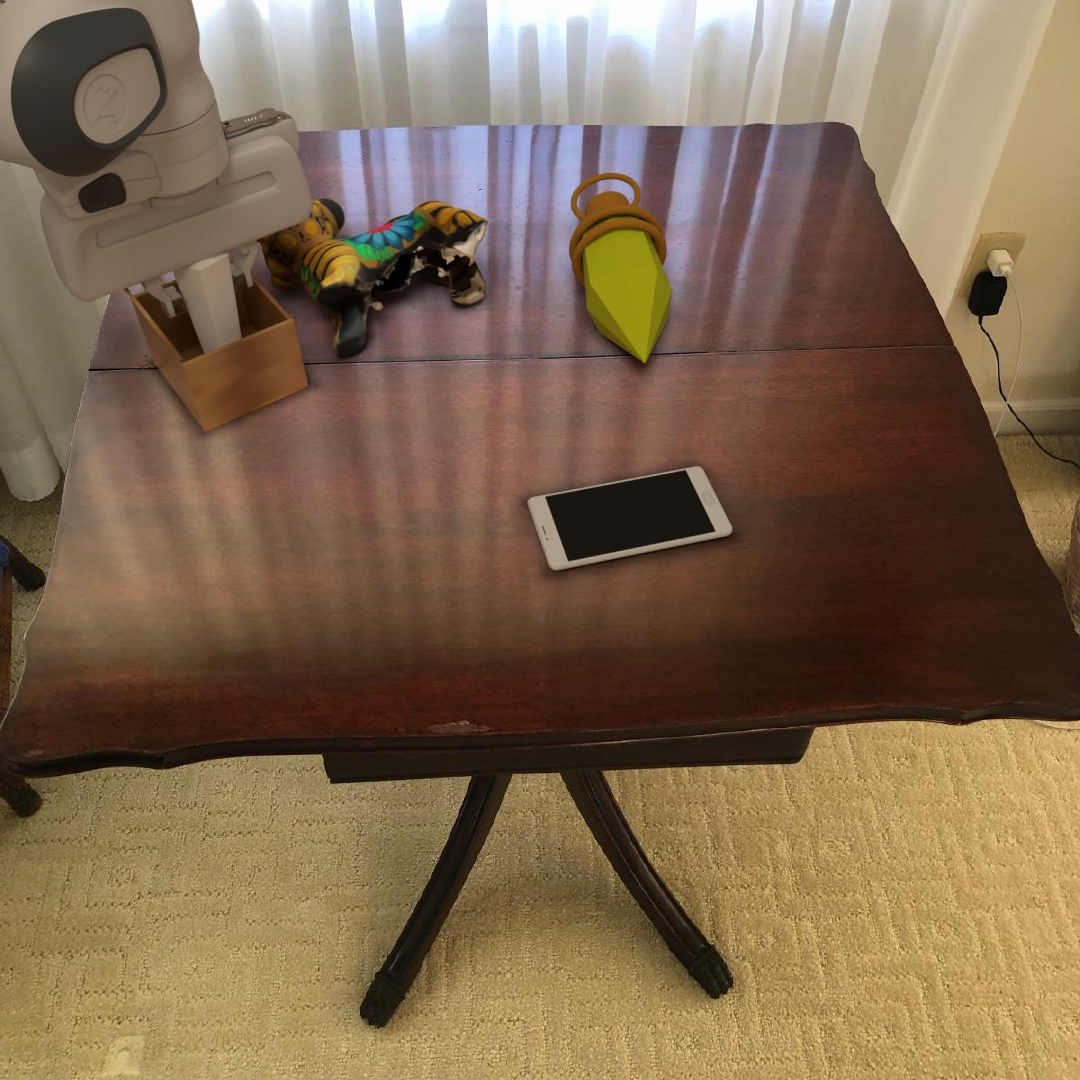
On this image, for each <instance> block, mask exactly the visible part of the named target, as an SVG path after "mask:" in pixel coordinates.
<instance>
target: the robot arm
mask: <svg viewBox="0 0 1080 1080" xmlns="http://www.w3.org/2000/svg"><path fill="white" fill-rule="evenodd" d="M194 7H195V6H194V3H193V0H0V161H3V162H6V163H12V164H15V165H18V166H22V167H25V168H29V169H32V170H33V172H34V175H35V177H36V179H37V181H38V183H39V184H40V187H41V188H42V190H43V191H44V194H43V195H42V197H41V200H40V205H39V217H40V223H41V228H42V231H43V235H44V239H45V242H46V246H47V249H48V252H49V256H50V258H51V261H52V264H53V266H54V268H55V271H56V273H57V275H58V277H59V279H60V281H61V282H62V284H63V285H64V287H65V289H66V290H67V291H68V292H69V293H70V294H71V295H72V296H73V297H75V298H77V299H78V300H81V301H83V302H86V303H88V302H89V303H90V302H94V301H96V300H99V299H100V298H101V299H102V298H105V297H107V296H109V295H112V294H115V293H118V292H120V291H124V289H126V288H128V289H129V288H131V287H134V286H136V285H141V286H142V288H143V289H144V290H145V291H147V292H149V293H150V294H151V295H153V296H154V297H155V298H157V299H158V300H159V302H160V304H161V307H162V309H163V311H164V312H165V313H166V315H167V316H168V317H169V318H172V317H175V316H178V315H180V314H183V313H185V312H187V310H186V307H185V306H184V301H183V298H182V296H181V295H180V293H179V292H177V290H176V288H175V287H174V286H170V287H167V288H164V289H163V288H162V287H161V285H163V284H164V283H163V280H162V276H164V275H166V274H169V273H171V272H173V271H174V270H177V269H179V268H182V267H185V266H187V265H190V264H193V263H195V262H198V261H201V260H203V259H206V258H209V257H212V256H214V255H217V254H220V253H222V252H225V251H227V252H229V251H230V250H233V249H235V251H234V256H233V258H234V260H233V263H231V264H230V267H231V273H232V279H233V286H234V288H235V291H236V292H238V291H241V290H244V289H246V288H249V287H252V286H253V281H252V277H251V274H252V272H251V270H252V268H253V265H254V263H255V260H256V257H257V254H258V252H259V245H258V242H257V241H256V240H257V239H260V238H263V237H265V236H268V235H271V234H273V233H276V232H279V231H281V230H284V229H287V228H289V227H292V226H295V225H297V224H300V223H303V222H305V221H307V220H308V218H309V216H310V214H311V212H312V209H313V201H314V200H313V197H312V193H311V189H310V186H309V181H308V179H307V175H306V173H305V170H304V168H303V165H302V163H301V160H300V158H299V155H298V154H299V152H300V149H301V148H300V146H301V142H300V137H299V130H298V126H297V124H296V121H295V119H294V118H293V117H292V115H290V114H289V113H287V112H285V111H282V110H276V109H275V108H274V107H266V108H262V109H259V110H257V111H256V112H254V113H251V114H248V115H242V116H236V117H233V118H230V119H227V120H223V121H222V117H221V113H220V111H219V106H218V102H217V99H216V93H215V90H214V87H213V84H212V82H211V80H210V78H209V77H208V74H207V73H206V72H205V69H204V66H203V64H202V61H201V55H200V54H201V53H200V42H201V34H200V29H199V23H198V20H197V16H196V11H195V8H194Z"/></svg>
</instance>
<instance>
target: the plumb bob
mask: <svg viewBox="0 0 1080 1080" xmlns="http://www.w3.org/2000/svg"><path fill="white" fill-rule="evenodd" d="M607 180H608V181H609V180H614V181H615V180H616V181H621V182H624V183H626V184H628V185H629V186H630V187H631V188H632V190H633V194H634V196H633V200H632V202H631V203H630V201H629V199H628V198H627V196H626V195H625V194H623V193H622V192H620V191H615V190H607V191H601V192H600V193H597V194H596V195H594V196H592V198H590V199H589V201H588V202H587V204H586V206H585V208H584V213H583V212H581V210H580V209H579V206H578V199H579V197H580V195H581V194H582V193H583V191H584V190H586V188H587V187H589V186H591V185H594V184H596V183H599V182H601V181H607ZM641 198H642V191H641V189H640V186H639V184H638V182H637V181H636V180H635V179H633V178H632V177H631V176H629V175H627V174H623V173H618V172H604V173H600V174H599V173H598V174H596V175H594V176H591V177H589V178H586V180H584V181H582V183H580V184H579V185H578V186H577V187H576V188H575V190H574V191H573V192H572V194H571V198H570V208H571V211H572V213H573V215H575V217H576V218H577V219H578V220H579V221H580V222H579V224H578V225H577V226H576V228H575V229H574V230H573V232H572V235H571V237H570V240H569V245H568V254H569V255H568V256H569V258H570V261H571V269H572V273H573V275H574V277H575V278H576V280H577V281H578V282H579V284H580V285H581V286H582V287H584V291H585V302H586V303H585V304H586V310H587V312H588V314H589V316H590V317H591V320H592V322H593V324H594V325H595V327H596V329H597V331H598V333H599V334H601V335H602V336H604V337H605V338H607V339H608V340H610V341H611V342H613V343H614V344H615V345H617V346H618V347H620V348H621V349H623V350H624V351H626V352H627V353H629V354H630V355H632V356H633V357H635V358H636V359H638V361H640V362H642V364H646V363H647V361H648V359H649V357H650V355H651V353H652V351H653V349H654V347H655V345H656V343H657V341H658V339H659V337H660V335H661V334H662V331H663V329H664V327H665V326H666V323H667V322H668V319H669V316H670V310H671V302H672V294H673V288H672V286H671V283H670V281H669V278H668V276H667V273H666V271H665V268H664V264H665V262H666V259H667V254H668V247H667V241H666V238H665V237H664V232H663V228H662V225H661V223H660V221H659V220H658V218H657V217H656V216H655V215H654V214H653V213H651V212H650V211H649V210H647V209H645V208H643V207H641V206H639V204H640V202H641Z"/></svg>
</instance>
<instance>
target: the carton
mask: <svg viewBox="0 0 1080 1080" xmlns="http://www.w3.org/2000/svg"><path fill="white" fill-rule="evenodd" d="M229 260H230V264H231V263H233V260H234V257H232V258H229ZM251 277H252V281H253V286H252V287H249V288H246V289H244V290H241V291H238V292H236V291H235V288H234V292H235V299H236V305H237V311H238V318H239V324H240V331H241V337H242V339H240V340H237V341H235V342H232V343H230V344H228V345H225V346H223V347H220V348H218V349H215V350H213V351H211V352H208V353H206V354H204V351H203V349H202V346H201V344H200V341H199V338H198V336H197V333H196V331H195V328H194V325H193V323H192V320H191V318H190V315H189V312H188V310H187V307H186V305H185V302H184V306H185V307H186V310H187V312H185V313H183V314H180V315H178V316H175V317H172V318H169V317H168V316H167V315H166V313H165V312H164V311H163V309H162V307H161V304H160V302H159V300H158V299H157V298H155V297H154V296H153V295H151V294H150V293H149V292H147V291H146V290H145V291H141V292H139V293H136V294H133V296H134V297H135V298H136V299H137V301H138V302H139V303H140V305H141V306H142V307H143V308H144V310H145V311H146V312H147V314H148V315H149V316H150V317H151V319H152V320H153V321H154V323H155V324H156V325H157V326H158V328H159V329H160V330H161V332H162V333H163V334H164V335H165V337H166V338H167V339H168V341H169V342H170V343H171V345H172V346H173V347H174V348H175V350H176V351H177V352H178V354H179V355H180V356H181V357H182V359H181V360H178V359H177V357H176V356H175V355H174V354H173V352H172V351H171V350H170V348H169V347H168V346H167V345H166V343H165V342H164V341H163V339H162V338H161V337H160V336H159V334H158V333H157V332H156V330H155V329H154V328H153V327H152V325H151V324H150V323H149V321H148V320H147V319H146V318H145V316H144V315H143V314H142V312H141V311H140V310H139V309H138V307H137V306H136V305H135V303H134V302H133V301H132V299H131V298H130V301H131V304H132V306H133V309H134V312H135V314H136V317H137V320H138V323H139V326H140V328H141V331H142V333H143V336H144V338H145V341H146V344H147V347H148V349H149V352H150V355H151V357H152V360H153V363H154V365H155V366H156V367H157V369H158V370H159V371H160V373H161V374H162V375H163V377H164V378H165V379H166V381H167V382H168V384H169V385H170V387H171V388H172V389H173V390H174V391H175V393H176V395H178V397H179V399H181V401H182V402H183V403H184V405H185V406H186V407H187V409H188V410H189V411H190V413H191V415H192V416H193V417H194V418H195V419H196V421H197V422H198V423H199V425H200V426H201V428H202V429H203V430H204V431H205V432H206V433H208V432H210V431H212V430H214V429H216V428H218V427H221V426H223V425H226V424H228V423H230V422H233V421H234V420H237V419H239V418H241V417H243V416H246V415H249V414H250V413H252V412H255V411H257V410H260V409H262V408H264V407H266V406H268V405H270V404H272V403H273V404H274V403H275V402H278V401H279V400H282V399H284V398H286V397H289V396H291V395H293V394H296V393H299V392H300V391H302V390H305V389H306V388H309V382H308V378H307V372H306V368H305V364H304V359H303V354H302V350H301V346H300V341H299V337H298V332H297V326H296V323H295V319H293V317H292V316H291V315H290V313H288V312H287V311H286V309H285V308H283V306H282V305H281V304H280V303H279V302H278V301H277V300H276V298H275V297H273V296H272V294H271V293H270V292H269V291H268V290H267V289H266V288H265V287H264V286H263V284H261V282H260V281H259V280H258V279H257V278H256V277H255V276H254V275H253V274H252V273H251ZM170 286H174V287H175V288H176V290H177V292H179V293H180V295H181V296H182V294H181V292H180V289H179V286H178V284H177V281H176V279H174V280H171V281H168V282H166V283H163V284H162V285H161V287H162V288H163V289H164V288H167V287H170ZM182 298H183V297H182ZM183 301H184V299H183Z"/></svg>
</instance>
